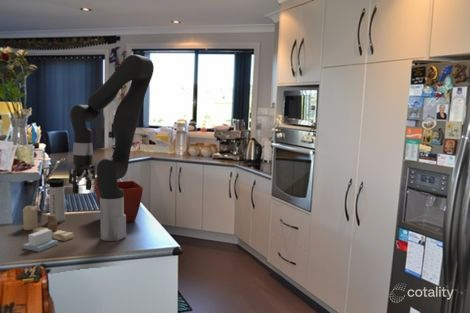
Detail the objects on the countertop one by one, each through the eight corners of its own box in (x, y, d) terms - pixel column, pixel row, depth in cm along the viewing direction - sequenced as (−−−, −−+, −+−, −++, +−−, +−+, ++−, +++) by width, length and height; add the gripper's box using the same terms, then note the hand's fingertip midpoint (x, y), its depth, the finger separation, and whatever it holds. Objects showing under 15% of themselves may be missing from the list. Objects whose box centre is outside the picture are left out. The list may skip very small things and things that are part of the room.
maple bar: (73, 238, 162) (72, 217, 161) (65, 241, 158) (65, 219, 157) (40, 232, 169) (40, 211, 167) (32, 235, 165) (32, 214, 164)
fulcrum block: (58, 244, 154) (57, 230, 153) (38, 251, 146) (38, 237, 145) (42, 241, 157) (42, 227, 156) (23, 248, 148) (22, 234, 148)
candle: (36, 229, 171) (35, 207, 170) (22, 230, 170) (21, 207, 169) (38, 226, 177) (38, 204, 175) (25, 226, 175) (24, 204, 174)
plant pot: (101, 227, 177) (100, 190, 175) (94, 217, 194) (93, 183, 192) (143, 222, 186) (143, 187, 184) (133, 213, 203) (133, 180, 201)
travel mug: (60, 218, 189) (59, 177, 187) (67, 221, 185) (66, 179, 183) (47, 221, 184) (46, 179, 182) (54, 224, 180) (53, 180, 178)
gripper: (79, 156, 156) (79, 196, 158) (100, 152, 169) (100, 189, 171) (63, 154, 158) (63, 194, 160) (85, 150, 171) (85, 187, 173)
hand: (82, 191), depth 166 cm, fingers open, 8 cm apart
